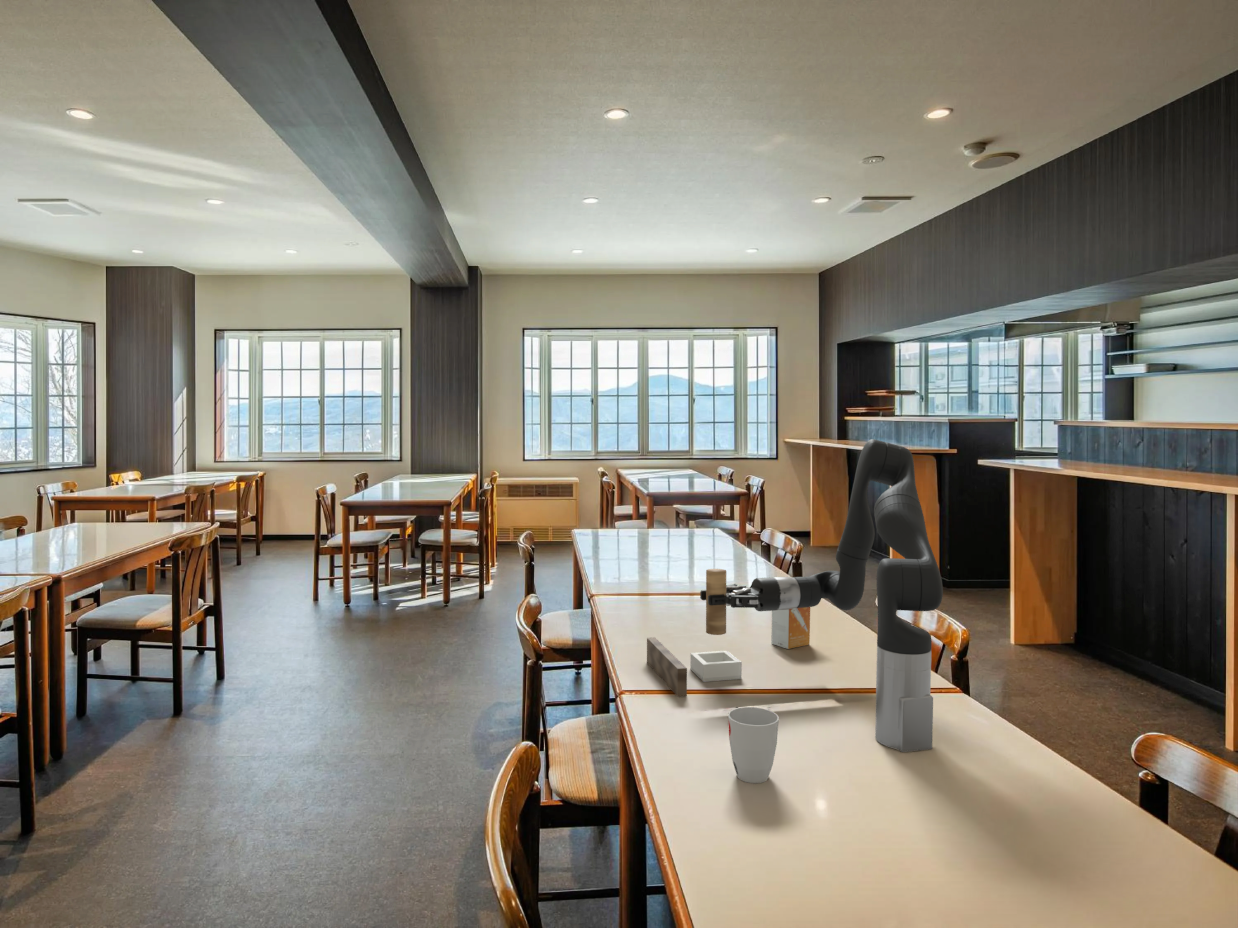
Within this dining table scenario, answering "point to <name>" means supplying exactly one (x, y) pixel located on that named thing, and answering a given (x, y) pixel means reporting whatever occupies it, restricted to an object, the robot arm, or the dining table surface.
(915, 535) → the robot arm
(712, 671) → the white square tray
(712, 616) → the oak dowel
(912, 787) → the dining table surface
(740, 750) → the cup
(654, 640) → the board
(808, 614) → the small box
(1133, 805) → the dining table surface
